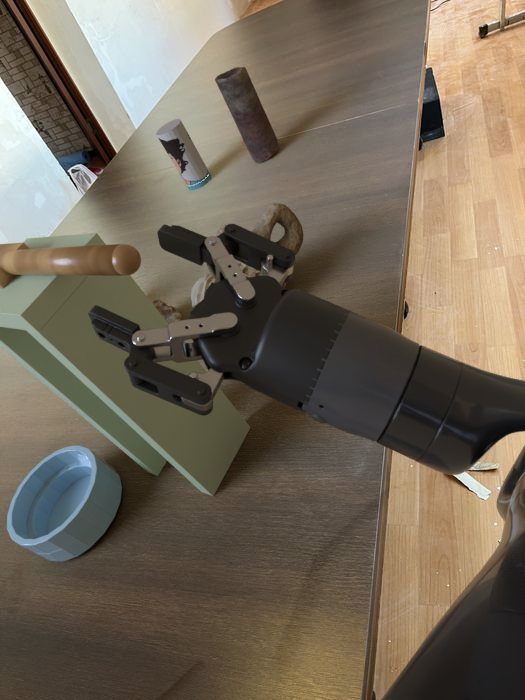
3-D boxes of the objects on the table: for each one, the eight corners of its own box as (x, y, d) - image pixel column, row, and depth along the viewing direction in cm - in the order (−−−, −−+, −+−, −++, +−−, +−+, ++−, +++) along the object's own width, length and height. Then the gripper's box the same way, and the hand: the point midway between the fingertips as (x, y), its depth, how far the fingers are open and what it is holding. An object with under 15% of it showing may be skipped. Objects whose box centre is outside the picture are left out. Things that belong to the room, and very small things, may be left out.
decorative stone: (180, 292, 84) (148, 367, 77) (194, 308, 87) (164, 381, 80) (139, 297, 89) (105, 368, 81) (153, 311, 92) (122, 381, 84)
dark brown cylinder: (251, 155, 123) (213, 75, 110) (277, 141, 121) (242, 58, 108) (255, 167, 117) (216, 83, 104) (283, 152, 116) (247, 66, 103)
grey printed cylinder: (202, 172, 129) (171, 118, 119) (216, 174, 124) (185, 118, 114) (183, 188, 127) (151, 135, 117) (197, 191, 122) (164, 135, 112)
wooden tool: (161, 250, 36) (143, 226, 34) (126, 293, 34) (106, 269, 32) (6, 256, 49) (-10, 239, 48) (-25, 287, 47) (-44, 270, 46)
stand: (213, 496, 59) (20, 315, 39) (148, 472, 67) (-45, 308, 46) (250, 427, 64) (96, 232, 43) (186, 411, 71) (27, 238, 50)
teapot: (232, 355, 75) (181, 284, 65) (201, 325, 84) (152, 258, 74) (336, 271, 78) (302, 190, 68) (296, 250, 87) (261, 176, 77)
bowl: (79, 579, 60) (45, 561, 56) (22, 542, 68) (-11, 525, 64) (142, 480, 66) (115, 457, 62) (83, 457, 74) (56, 436, 70)
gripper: (382, 255, 33) (174, 174, 36) (295, 434, 26) (48, 315, 29) (358, 318, 39) (183, 245, 43) (283, 474, 33) (82, 374, 36)
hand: (128, 273), depth 36 cm, fingers open, 8 cm apart
